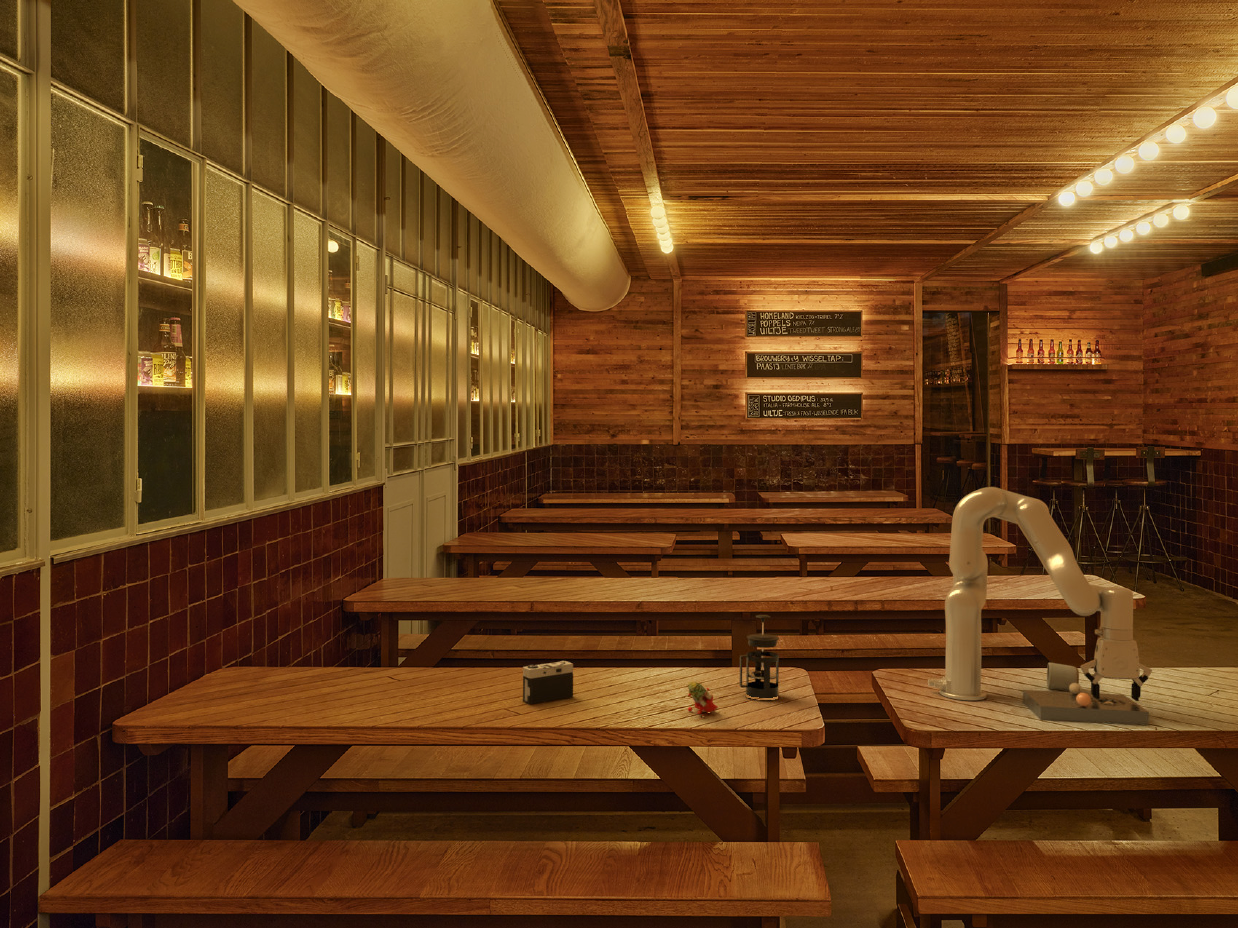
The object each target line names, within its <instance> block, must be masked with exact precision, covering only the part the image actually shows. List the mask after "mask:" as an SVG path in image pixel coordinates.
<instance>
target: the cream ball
mask: <svg viewBox="0 0 1238 928" xmlns="http://www.w3.org/2000/svg"><path fill="white" fill-rule="evenodd" d="M1069 690H1070V691H1069V692H1071V693H1073V694H1079V693H1082V686H1081V685H1080V683H1079V684H1077V683H1072V684H1071V685H1070V686H1069Z"/></svg>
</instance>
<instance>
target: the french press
mask: <svg viewBox="0 0 1238 928" xmlns="http://www.w3.org/2000/svg"><path fill="white" fill-rule="evenodd" d="M755 618H759V619H761V624H762V625H761V627H762V629H761V633H759V634H758V633H754V634H748V635H746V639H748V640H747V641H748V643H747V644H748V646H750V647H752V648H753V647H754V648H761V650H755V651H752V650H751V651H749V652H747V653H746V654H740V655H739V687H740V688H741V689H742V688H743V689H744V688H745V692H746V693H745V694H747V695H749V696H751V697H759V698H773V697H777V696H778V695H779V671H780V670H779V667H780V666H779V665H780V663H779V661H780V660H779V658H780V656H779V654H778V653H776V652H773V651H766V650H764V648H766V649H769V648H775V647H776V646H777V643H778V641H779V640H780V637H779V636H777V635H774V634H768V633H767V634H765V633H764V630H765V629H764V628H765V627H764V626H765V624H764V623H765V621H766V619H770V618H771V616H770V615H768V614H758V615H757V614H756V615H755ZM743 658H746V665H745V667H746V674H745V675H746V676H745V677H746V682H745V684H743ZM750 662H754V670H752V671H750V670H749V669H750ZM771 663H775V672H773V671H771ZM750 678H751V679H754V681H749V680H750ZM771 680H775V682H772V681H771Z"/></svg>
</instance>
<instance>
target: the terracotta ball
mask: <svg viewBox="0 0 1238 928" xmlns="http://www.w3.org/2000/svg"><path fill="white" fill-rule="evenodd" d="M1086 693H1087V692H1080V694H1078V695H1077V697H1076V701H1077V703H1078V704H1079V705H1080V706H1083V707H1086V706H1089V705H1090V703H1091V698H1090V696H1089V695H1088V694H1086Z"/></svg>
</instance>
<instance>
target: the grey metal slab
mask: <svg viewBox="0 0 1238 928" xmlns="http://www.w3.org/2000/svg"><path fill="white" fill-rule="evenodd" d="M1080 693H1081V692H1080ZM1080 693H1079V694H1080ZM1085 693H1086V694H1088V695H1089V696H1090V698H1091V703H1090V705H1089V706H1086V707H1083V706H1080V705H1079V704H1078V703H1077V701H1076V697H1077V695H1078V694H1073V693H1071V692H1070V691H1060V690H1035V689H1022V704H1024V705H1025V706H1026V707H1027V708H1028V709H1029V710H1030V711H1031V712H1032V713H1033V714H1034V715H1035V716H1036V717H1037V718H1038V719H1039V720H1041V721H1057V722H1058V721H1059V722H1060V721H1061V722H1074V723H1075V722H1077V723H1081V722H1082V723H1094V722H1100V723H1099V724H1103V723H1102V722H1105V723H1104V724H1108V723H1107V722H1110V723H1109V724H1113V723H1121V724H1120V725H1132V724H1145V725H1144V726H1150V725H1149V723H1150V712H1149V710H1147V709H1145V708H1144V707H1143V706H1141V705H1140V704H1138V703H1136V701H1135V700H1133V699H1132V698H1129V697H1128V696H1126V695H1125V694H1120V693H1119V694H1118V693H1101V692H1100V698H1099V699H1096V698H1094V697H1093V695H1092V694H1091V692H1085ZM1107 701H1110V702H1112V703H1114V704H1107V703H1104V702H1107Z"/></svg>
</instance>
